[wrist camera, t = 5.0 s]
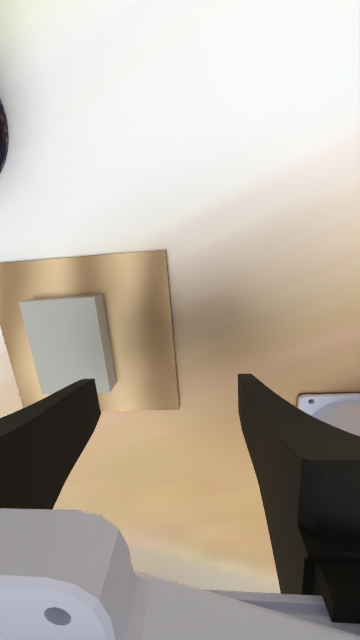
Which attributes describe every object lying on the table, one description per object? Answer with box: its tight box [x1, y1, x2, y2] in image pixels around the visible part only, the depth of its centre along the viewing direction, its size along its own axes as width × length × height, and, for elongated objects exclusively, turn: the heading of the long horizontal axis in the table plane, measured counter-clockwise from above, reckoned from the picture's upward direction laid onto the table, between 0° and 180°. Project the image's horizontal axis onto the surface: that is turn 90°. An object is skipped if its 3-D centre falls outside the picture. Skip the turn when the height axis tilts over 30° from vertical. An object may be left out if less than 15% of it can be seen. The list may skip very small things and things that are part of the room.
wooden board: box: [0, 250, 180, 411], centre depth 21 cm, size 15×14×1 cm
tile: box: [19, 294, 117, 394], centre depth 20 cm, size 2×8×6 cm
